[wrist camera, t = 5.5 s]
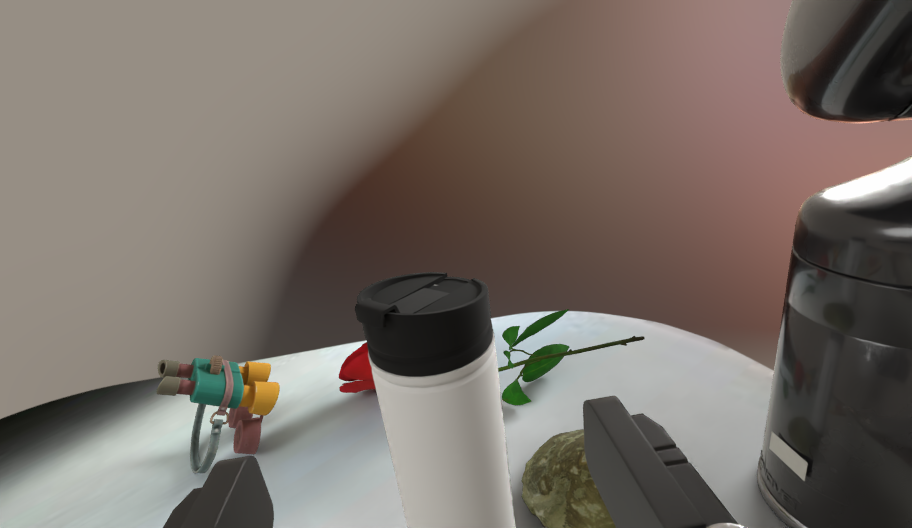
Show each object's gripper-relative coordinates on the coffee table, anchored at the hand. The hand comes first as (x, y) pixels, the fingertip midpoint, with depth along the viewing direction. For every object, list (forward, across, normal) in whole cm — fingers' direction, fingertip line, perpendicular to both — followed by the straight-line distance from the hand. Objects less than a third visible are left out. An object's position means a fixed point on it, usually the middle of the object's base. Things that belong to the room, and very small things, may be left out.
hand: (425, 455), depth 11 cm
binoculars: (+27, +20, +20) cm, 39 cm away
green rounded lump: (+14, -10, +20) cm, 27 cm away
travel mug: (+11, 0, +20) cm, 23 cm away
